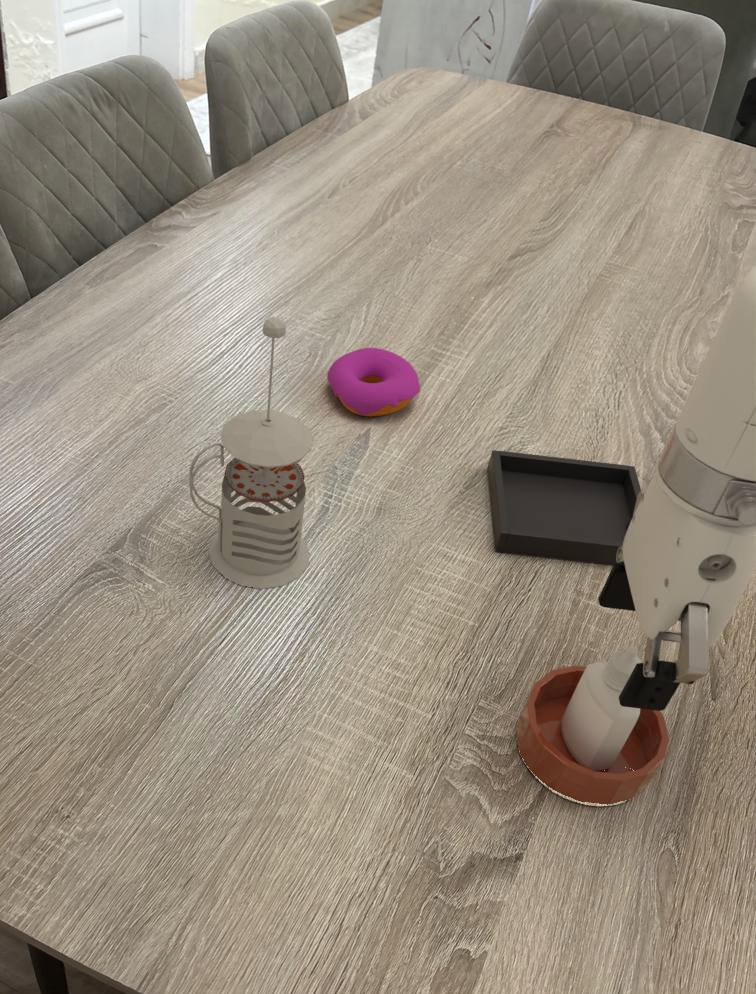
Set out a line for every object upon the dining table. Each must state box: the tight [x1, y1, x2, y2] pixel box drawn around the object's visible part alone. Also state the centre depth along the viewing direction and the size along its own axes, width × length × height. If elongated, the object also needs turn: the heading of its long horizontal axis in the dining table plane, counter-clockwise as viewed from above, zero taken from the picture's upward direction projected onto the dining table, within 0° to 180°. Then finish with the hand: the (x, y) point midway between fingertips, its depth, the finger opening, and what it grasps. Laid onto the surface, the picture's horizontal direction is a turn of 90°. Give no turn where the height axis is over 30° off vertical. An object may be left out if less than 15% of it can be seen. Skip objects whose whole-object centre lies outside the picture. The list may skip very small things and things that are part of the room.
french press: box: [188, 316, 314, 590], centre depth 82 cm, size 10×12×25 cm
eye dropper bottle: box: [561, 645, 643, 771], centre depth 73 cm, size 4×6×12 cm
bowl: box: [515, 665, 670, 805], centre depth 76 cm, size 11×11×4 cm
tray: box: [486, 449, 642, 566], centre depth 98 cm, size 16×14×3 cm
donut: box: [326, 347, 421, 417], centre depth 110 cm, size 10×10×5 cm
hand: (628, 653), depth 69 cm, fingers open, 9 cm apart
